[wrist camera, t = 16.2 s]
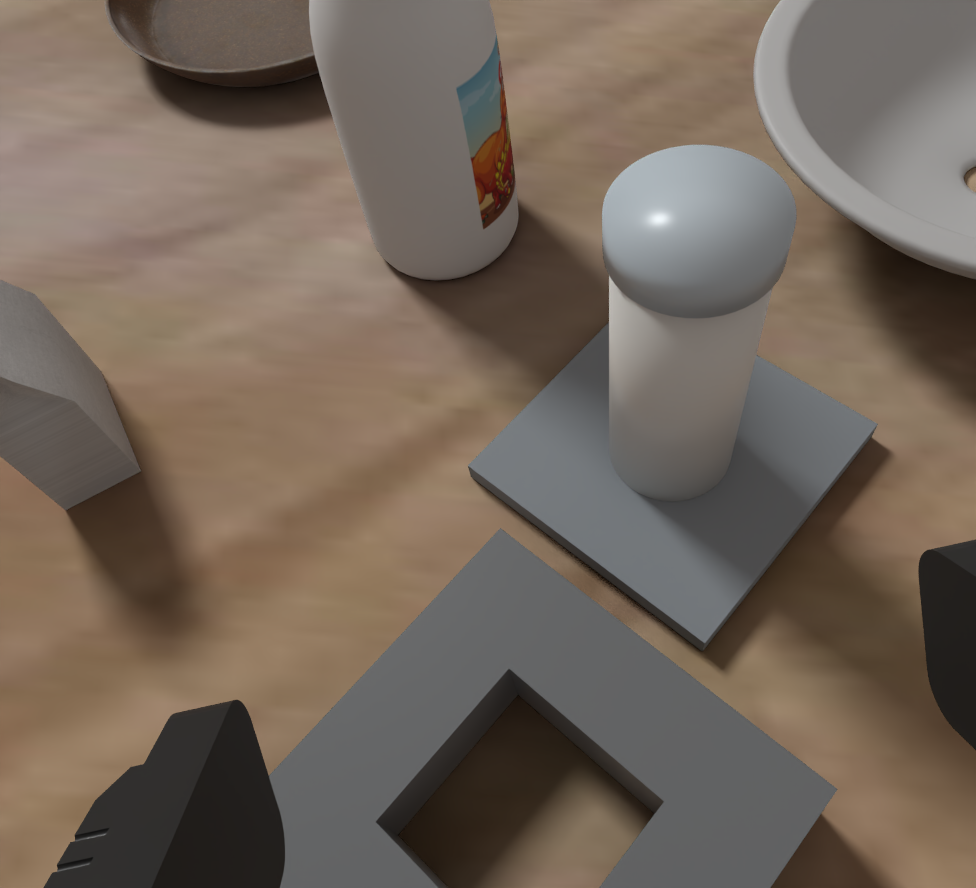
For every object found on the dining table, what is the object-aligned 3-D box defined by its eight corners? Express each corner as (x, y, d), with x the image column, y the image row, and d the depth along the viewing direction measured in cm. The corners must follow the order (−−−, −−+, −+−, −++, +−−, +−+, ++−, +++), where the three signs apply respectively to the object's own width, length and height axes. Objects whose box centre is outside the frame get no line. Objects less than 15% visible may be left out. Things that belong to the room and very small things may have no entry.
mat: (470, 476, 38) (467, 465, 37) (640, 302, 42) (641, 289, 41) (702, 651, 33) (704, 643, 32) (871, 436, 37) (877, 424, 36)
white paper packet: (101, 371, 44) (-22, 228, 35) (141, 471, 40) (16, 339, 32) (30, 406, 43) (-112, 268, 35) (65, 510, 40) (-83, 387, 31)
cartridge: (578, 457, 37) (563, 226, 25) (655, 372, 39) (676, 121, 27) (684, 530, 35) (722, 315, 23) (762, 438, 36) (834, 193, 25)
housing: (252, 845, 32) (215, 833, 29) (509, 564, 36) (500, 528, 33) (551, 1191, 26) (543, 1221, 23) (814, 806, 30) (837, 789, 27)
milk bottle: (453, 309, 43) (351, -121, 26) (343, 244, 46) (188, -179, 29) (550, 212, 46) (515, -238, 28) (440, 156, 49) (348, -280, 32)
